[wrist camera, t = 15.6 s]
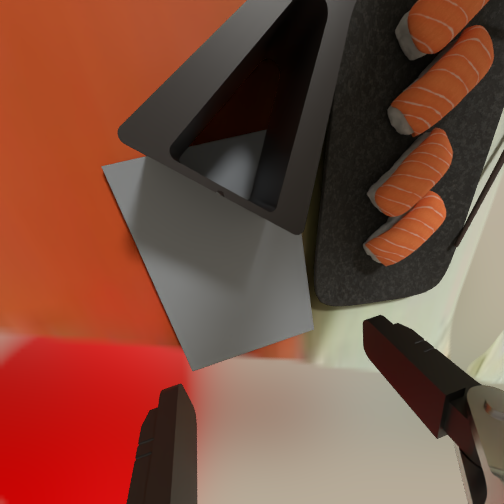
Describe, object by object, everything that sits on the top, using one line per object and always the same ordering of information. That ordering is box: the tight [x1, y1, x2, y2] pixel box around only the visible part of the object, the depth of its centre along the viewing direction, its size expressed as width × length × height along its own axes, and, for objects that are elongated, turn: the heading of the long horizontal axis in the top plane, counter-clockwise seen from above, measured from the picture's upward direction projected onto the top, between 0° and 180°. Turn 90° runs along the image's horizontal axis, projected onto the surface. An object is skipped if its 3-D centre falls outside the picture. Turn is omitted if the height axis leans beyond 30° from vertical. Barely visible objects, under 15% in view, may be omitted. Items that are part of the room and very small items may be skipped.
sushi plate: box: [314, 0, 504, 306], centre depth 19 cm, size 29×30×4 cm
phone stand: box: [118, 0, 357, 235], centre depth 12 cm, size 9×6×12 cm
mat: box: [101, 129, 314, 371], centre depth 19 cm, size 12×18×1 cm, turn 12°
